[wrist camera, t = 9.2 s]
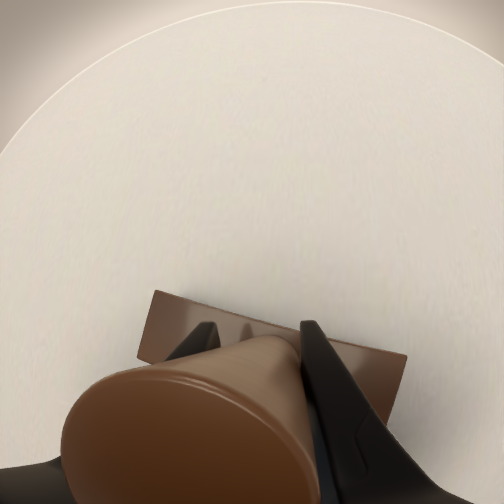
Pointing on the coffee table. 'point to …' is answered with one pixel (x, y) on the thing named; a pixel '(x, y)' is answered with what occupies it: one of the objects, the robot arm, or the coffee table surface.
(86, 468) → the wiper
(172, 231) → the coffee table surface
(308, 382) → the robot arm
